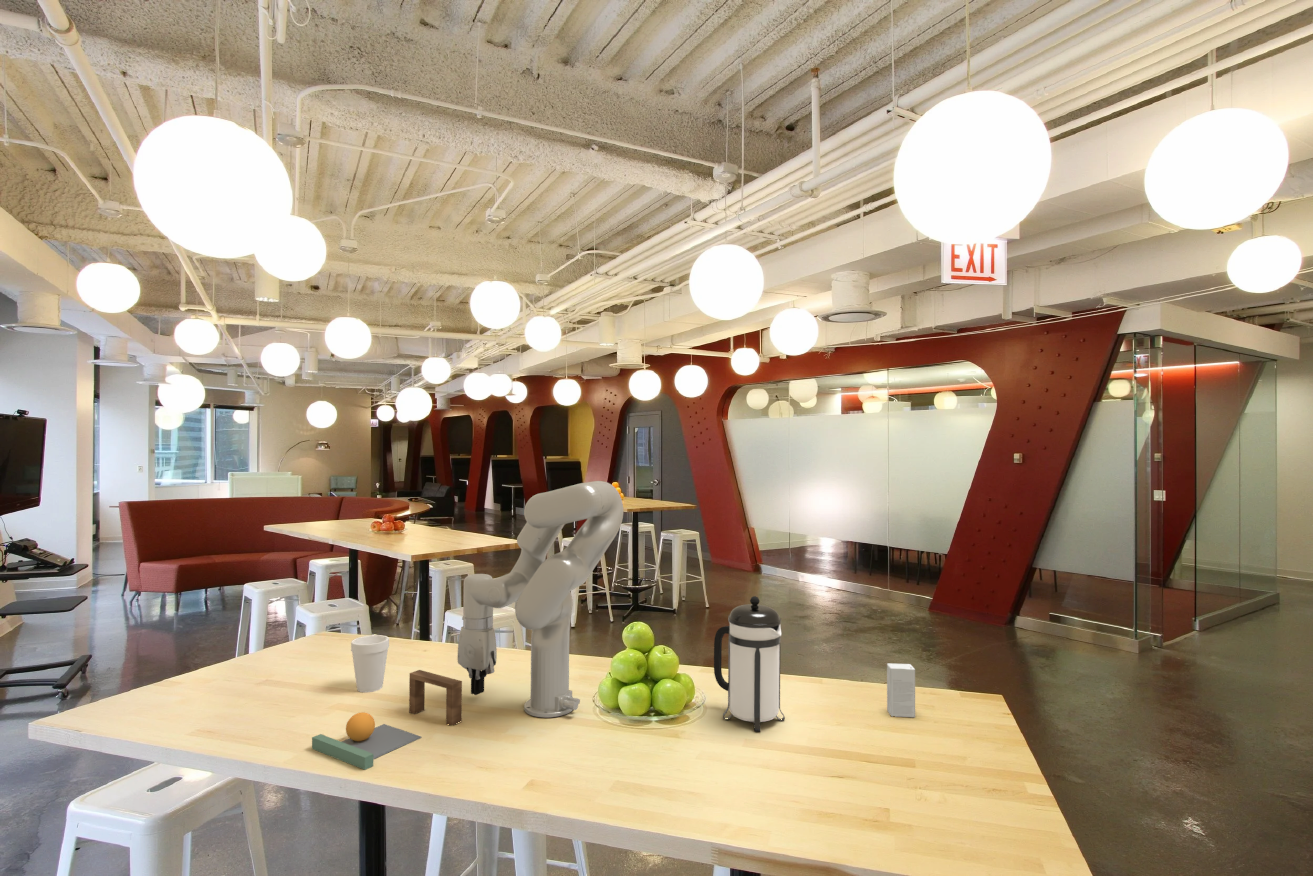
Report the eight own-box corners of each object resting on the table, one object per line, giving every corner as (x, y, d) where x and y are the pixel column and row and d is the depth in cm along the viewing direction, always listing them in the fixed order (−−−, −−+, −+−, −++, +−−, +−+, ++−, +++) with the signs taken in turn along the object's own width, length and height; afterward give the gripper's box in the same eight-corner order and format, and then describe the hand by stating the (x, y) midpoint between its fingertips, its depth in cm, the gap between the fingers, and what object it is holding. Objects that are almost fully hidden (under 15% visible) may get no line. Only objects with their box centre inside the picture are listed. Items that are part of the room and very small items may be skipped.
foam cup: (362, 697, 180) (363, 647, 180) (344, 689, 186) (344, 640, 186) (395, 687, 188) (396, 639, 188) (376, 679, 194) (377, 633, 194)
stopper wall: (373, 766, 143) (373, 754, 143) (364, 770, 141) (364, 757, 141) (320, 745, 152) (320, 734, 152) (311, 748, 150) (312, 737, 150)
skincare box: (910, 711, 174) (911, 663, 174) (915, 718, 170) (915, 669, 170) (886, 710, 175) (886, 662, 175) (890, 716, 171) (890, 668, 171)
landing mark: (421, 737, 157) (421, 736, 157) (371, 760, 145) (371, 759, 145) (384, 724, 163) (384, 724, 163) (333, 745, 152) (333, 744, 152)
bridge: (419, 708, 173) (419, 669, 173) (461, 721, 166) (462, 681, 166) (409, 712, 171) (409, 673, 171) (451, 726, 163) (452, 684, 163)
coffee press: (781, 707, 176) (782, 589, 176) (787, 734, 160) (788, 604, 160) (713, 704, 178) (714, 587, 178) (712, 730, 162) (713, 602, 162)
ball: (360, 751, 152) (383, 732, 157) (353, 730, 150) (376, 712, 154) (344, 741, 155) (367, 723, 160) (337, 720, 153) (360, 703, 158)
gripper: (446, 621, 181) (446, 692, 181) (488, 630, 173) (488, 703, 173) (468, 615, 187) (467, 683, 187) (509, 623, 179) (509, 694, 179)
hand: (477, 692), depth 180 cm, fingers closed
